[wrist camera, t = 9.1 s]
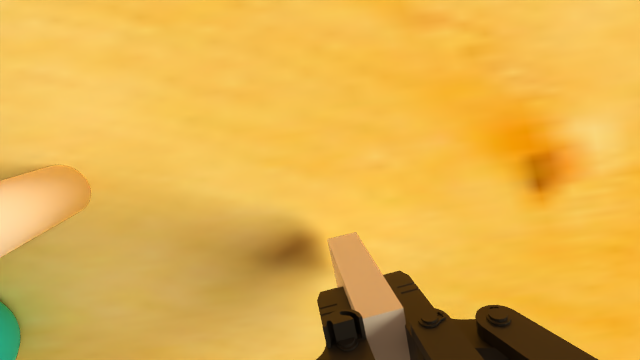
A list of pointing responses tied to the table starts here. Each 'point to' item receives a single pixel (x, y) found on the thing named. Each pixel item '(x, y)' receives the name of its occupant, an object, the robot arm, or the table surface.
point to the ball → (8, 334)
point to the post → (39, 203)
